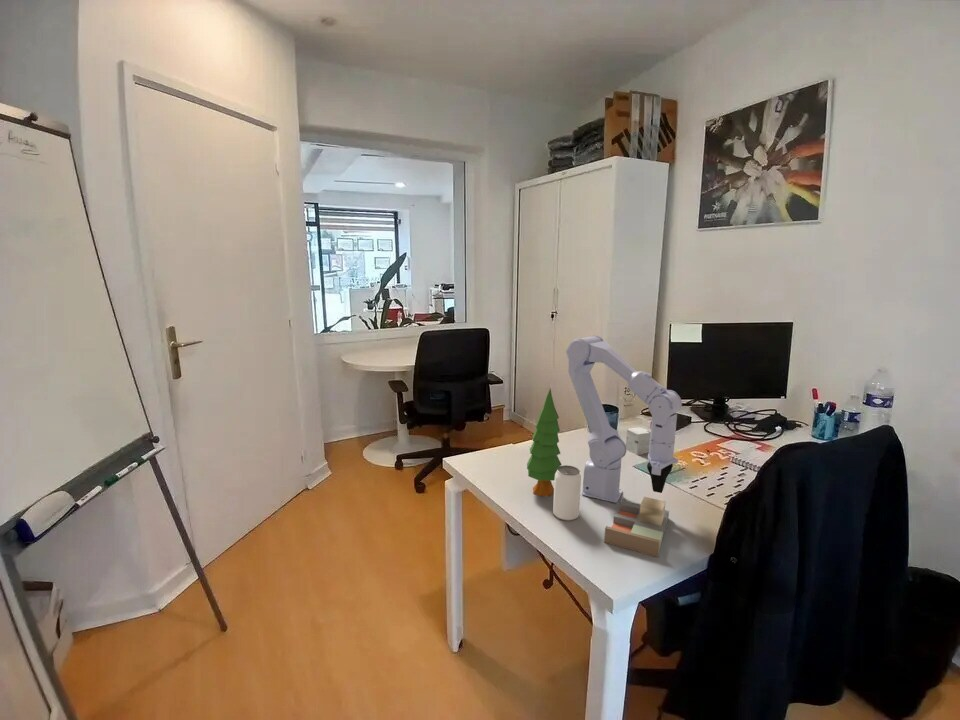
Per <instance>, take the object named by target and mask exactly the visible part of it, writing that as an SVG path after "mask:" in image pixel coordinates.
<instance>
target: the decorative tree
mask: <svg viewBox="0 0 960 720" xmlns="http://www.w3.org/2000/svg"><path fill="white" fill-rule="evenodd" d="M559 418H560V416H559V414H558V412H557V409H556V407H555V403H554V399H553V395H552V389H551V387H550V388H549V391H548V392H547V395H546V397H545V400H544V404H543V407H542V409H541V411H540V413H539V415H538V420H537V422H536V424H535V428H536V429H535V430H534V433H533V435H532V444H531V446H530V448H529V452H530V453H529V454H531V455H530V456H529V459H528V461H527V463H526V469H527V471H528V473H527V477H528V478H531V479H535V480H537V483H536V484H535V485H534V486H533V487H532V494H533V495H536V496H539V497H551V496H552V495H554V484H552V481H554V480H555V473H556V471H557V468H558V467H559V466H563V465H562V462H561V460H560V458H559V457H558V456H559V455H561V451H560V448H559V446H558V443H559V442H560V440H559V435H558V433H560V431H561V430H560V425H559V421H558V419H559Z"/></svg>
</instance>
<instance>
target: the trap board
mask: <svg viewBox="0 0 960 720" xmlns="http://www.w3.org/2000/svg"><path fill="white" fill-rule="evenodd" d="M640 505H641V503H636V502H634V501H629V500H625V499H624V500H623V499H622V500H621V501H620V504H619V511H618V513H614V515H613V520H612V522H613V524H611V525H612V526H608V525H606V526H605V527H604V529H605V530H604V539H603V540H604V541H603V542H604V543H606V544H610V545H613V546H617V547H620V548H623V549H627V550H631V551H634V552H638V553H641V554H645V555H648V556H652V557H656V558H658V557H659V553H660V551H661V550H660V549H661V546H662V542H663V540H664V535H665V532H666V529H667V525H668V521H669V517H670V510H667V509H665V512H664V518H663V522H662V525H661V526H659V525H655V524H651V523H647V522H643V521H639V515H640Z"/></svg>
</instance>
